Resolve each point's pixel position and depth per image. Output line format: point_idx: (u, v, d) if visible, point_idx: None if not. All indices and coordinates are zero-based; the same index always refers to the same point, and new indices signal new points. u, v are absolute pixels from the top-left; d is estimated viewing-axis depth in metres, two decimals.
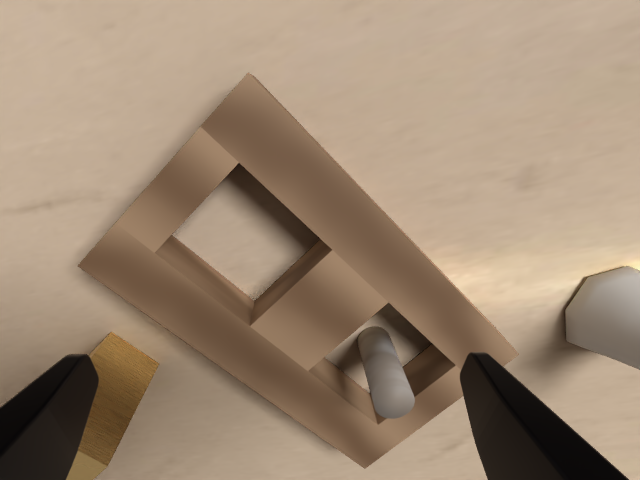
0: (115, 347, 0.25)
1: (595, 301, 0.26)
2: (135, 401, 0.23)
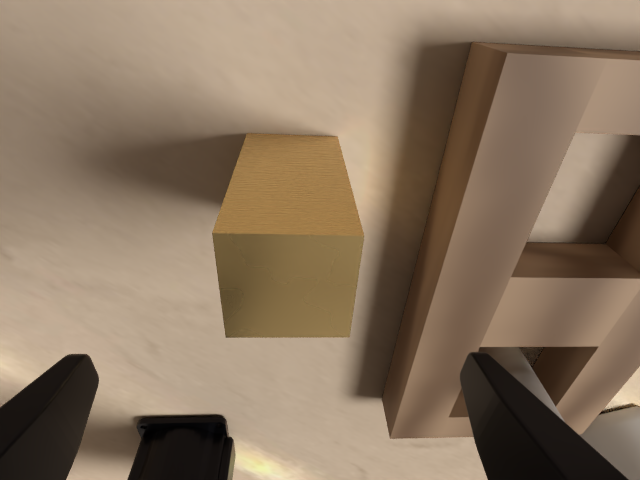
0: None
1: (631, 426, 0.29)
2: None
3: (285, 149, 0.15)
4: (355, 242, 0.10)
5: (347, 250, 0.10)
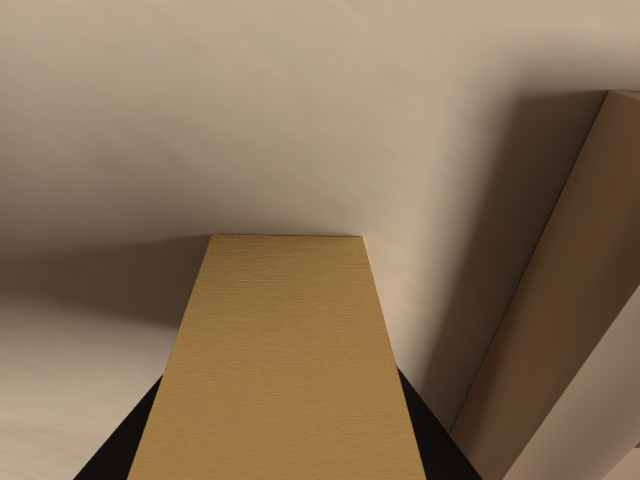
0: None
1: None
2: None
3: (276, 278, 0.08)
4: None
5: None
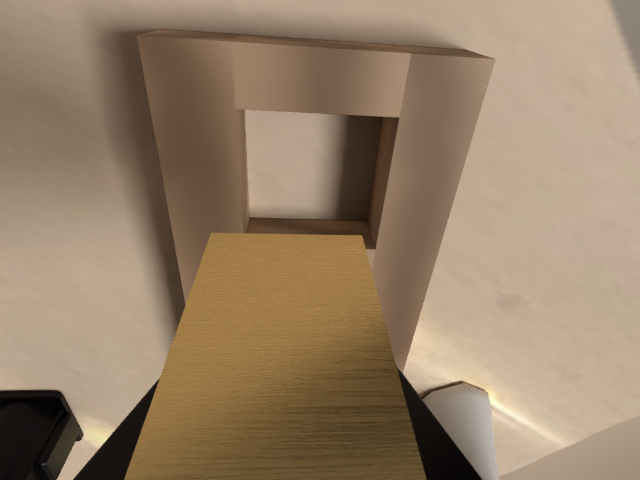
0: None
1: (456, 402, 0.31)
2: None
3: (274, 276, 0.08)
4: None
5: None
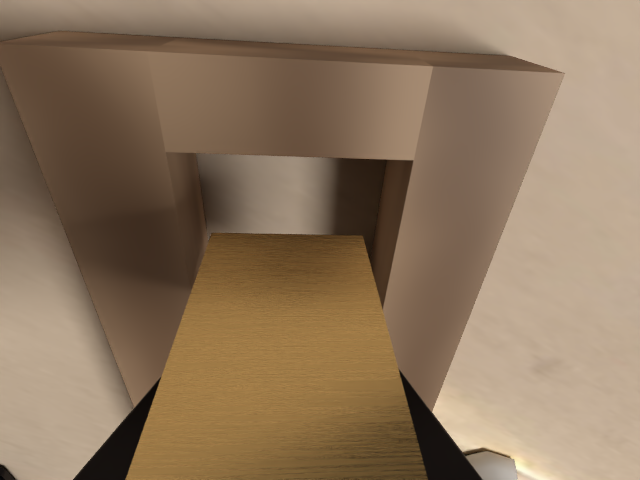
0: None
1: None
2: None
3: (275, 276, 0.08)
4: None
5: None
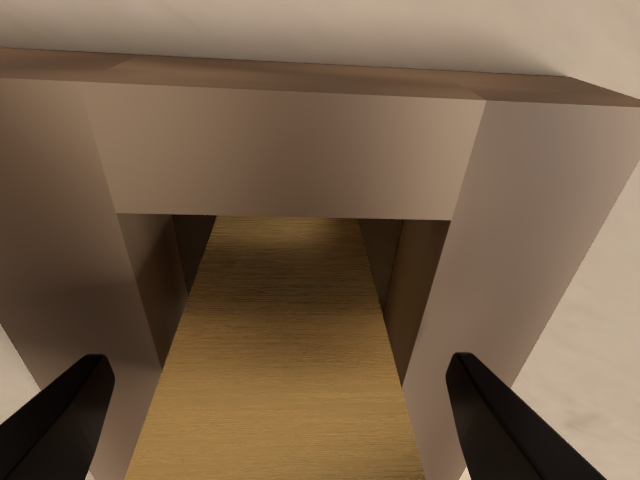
0: None
1: None
2: None
3: (277, 240, 0.10)
4: None
5: None
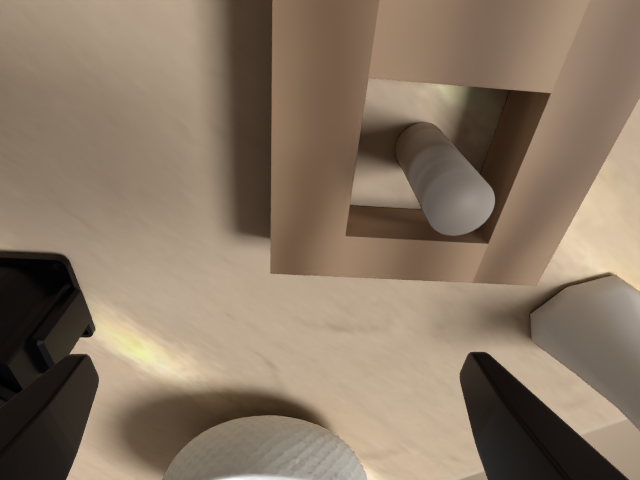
0: None
1: (607, 297, 0.22)
2: None
3: None
4: None
5: None
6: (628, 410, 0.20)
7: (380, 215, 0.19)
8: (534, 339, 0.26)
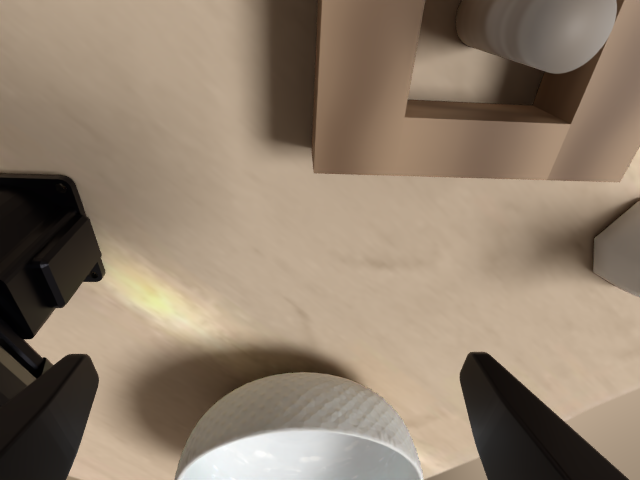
0: None
1: None
2: None
3: None
4: None
5: None
6: None
7: (438, 105, 0.17)
8: (597, 268, 0.23)
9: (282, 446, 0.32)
